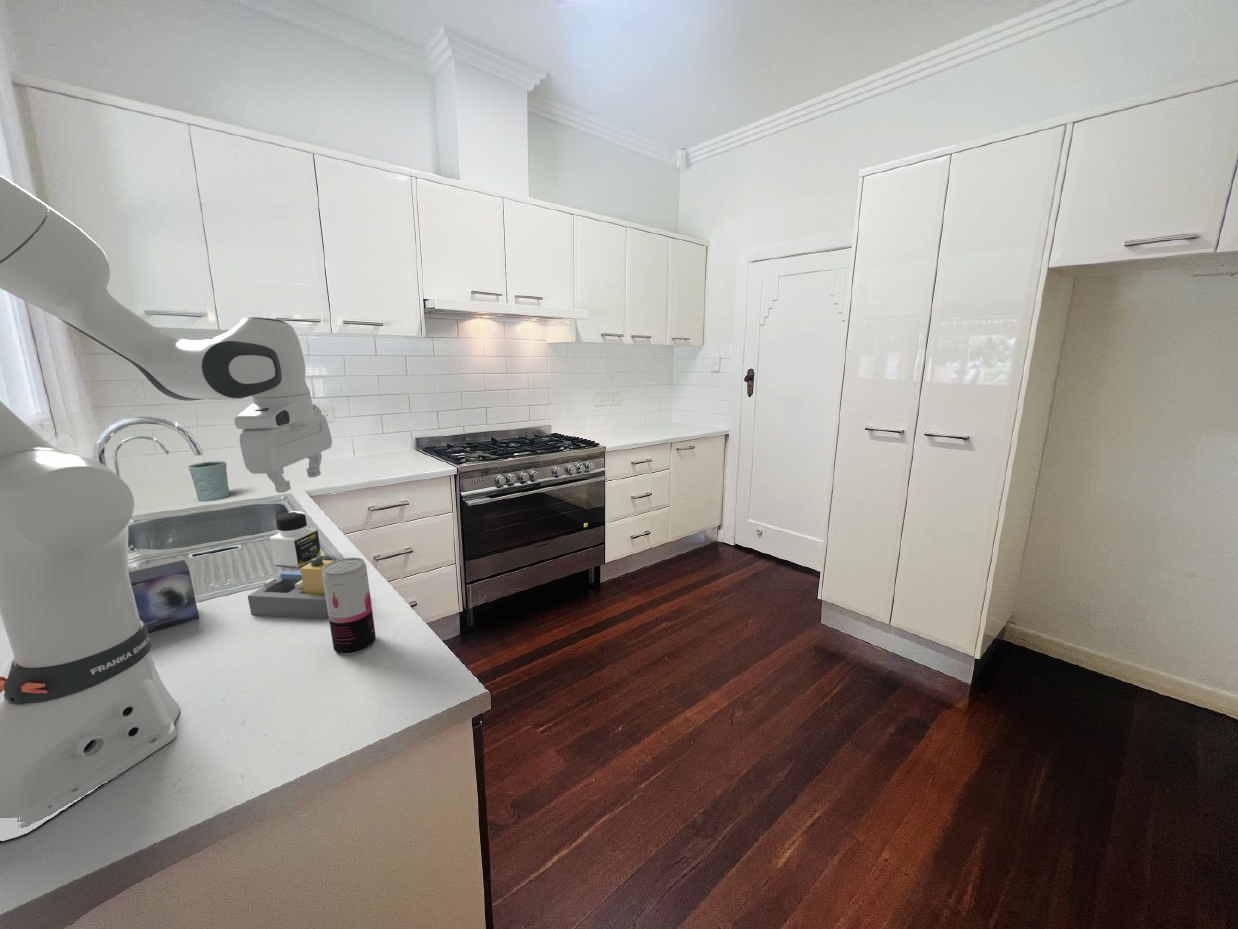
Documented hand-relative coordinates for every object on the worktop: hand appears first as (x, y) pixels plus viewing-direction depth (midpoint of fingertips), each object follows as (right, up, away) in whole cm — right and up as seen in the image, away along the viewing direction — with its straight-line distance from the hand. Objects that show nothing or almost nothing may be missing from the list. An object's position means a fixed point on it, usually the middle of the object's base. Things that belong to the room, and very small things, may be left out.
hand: (299, 483), depth 94 cm
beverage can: (+14, -28, -7) cm, 32 cm away
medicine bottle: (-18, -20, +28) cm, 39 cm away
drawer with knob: (+1, -25, +6) cm, 26 cm away
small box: (-26, -27, 0) cm, 37 cm away
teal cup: (-81, -8, +79) cm, 113 cm away
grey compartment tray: (-3, -25, +6) cm, 26 cm away
